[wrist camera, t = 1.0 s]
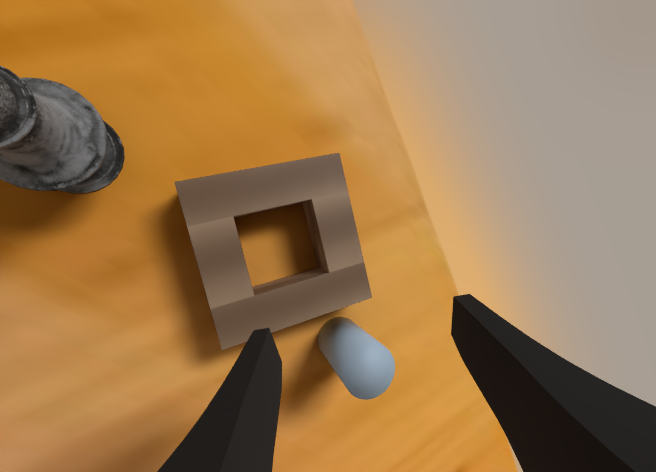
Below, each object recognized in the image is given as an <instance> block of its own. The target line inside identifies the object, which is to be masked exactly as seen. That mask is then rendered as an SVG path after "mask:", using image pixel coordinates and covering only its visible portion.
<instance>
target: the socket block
mask: <svg viewBox="0 0 656 472" xmlns="http://www.w3.org/2000/svg"><path fill="white" fill-rule="evenodd" d="M175 186H176V189H177V193H178V196H179V200H180V203H181V207H182V210H183V214H184V217H185V221H186V225H187V228H188V232H189V235H190V239H191V242H192V246H193V249H194V253H195V256H196V260H197V264H198V267H199V271H200V274H201V278H202V281H203V285H204V288H205V292H206V295H207V299H208V303H209V306H210V310H211V313H212V317H213V320H214V324H215V327H216V331H217V334H218V338H219V341H220V345H221V349H222V350H224V349H227V348H230V347H233V346H235V345H238V344H241V343H244V342H247V341H248V339H249V337H250V335H251V334H252V332H253V331H254V330H258V329H264V328H270V331H271V333H273V332H275V331H278V330H281V329H284V328H287V327H290V326H292V325H295V324H298V323H301V322H304V321H307V320H310V319H312V318H315V317H318V316H321V315H324V314H327V313H330V312H332V311H335V310H338V309H341V308H344V307H347V306H349V305H352V304H355V303H358V302H361V301H364V300H367V299H369V298H372V295H371V291H370V287H369V282H368V278H367V273H366V269H365V264H364V260H363V256H362V251H361V247H360V242H359V238H358V234H357V229H356V225H355V220H354V216H353V211H352V207H351V203H350V198H349V194H348V189H347V185H346V181H345V176H344V172H343V167H342V163H341V158H340V154H339V153H335V154H330V155H324V156H318V157H313V158H307V159H302V160H296V161H290V162H285V163H279V164H273V165H268V166H262V167H256V168H251V169H245V170H239V171H234V172H228V173H223V174H217V175H211V176H206V177H200V178H194V179H189V180H183V181H177V182H175ZM300 203H303V208H304V212H305V216H306V220H307V224H308V228H309V232H310V236H311V241H312V245H313V249H314V253H315V257H316V261H317V265H318V268H315V269H311V270H308V271H305V272H301V273H298V274H295V275H291V276H288V277H284V278H281V279H278V280H274V281H271V282H268V283H264V284H261V285H258V286H254V287H252V285H251V281H250V277H249V274H248V270H247V266H246V262H245V259H244V255H243V251H242V247H241V244H240V240H239V236H238V232H237V228H236V225H235V221H234V218H237V217H242V216H246V215H251V214H255V213H259V212H264V211H268V210H273V209H277V208H282V207H286V206H291V205H295V204H300Z"/></svg>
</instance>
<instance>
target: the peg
mask: <svg viewBox="0 0 656 472" xmlns="http://www.w3.org/2000/svg"><path fill="white" fill-rule="evenodd" d="M318 345H319V348H320V350H321V352H322V353H323V355H324V356H325V358H326V359H327V361H328V362H329V363H330V365H331V366H332V368H333V369H334V371H335V372H336V373H337V375H338V376H339V378H340V379H341V381H342V382H343V383H344V385H345V386H346V388H347V389H348V391H349V392H350V393H351V394H352V395H353V396H355V397H357V398H359V399H372V398H375V397H377V396H379V395H381V394H382V393H383V392H384V391H385V390H386V389H387V388H388V387H389V385H390V383H391V382H392V379H393V376H394V372H395V363H394V359H393V356H392V354H391V352H390V351H389V350H388V349H387V348H386V347H384V346H383V345H382V344H381V343H379V342H378V341H377V340H376V339H374V338H373V337H372V336H370V335H369V334H368V333H367V332H365V331H364V330H363V329H361V328H360V327H359V326H358V325H356V324H355V323H354V322H353V321H351V320H350V319H348V318H345V317H335V318H333V319H331V320H329V321H328V322H326V323H325V324H324V325H323V327H322V328H321V330H320V333H319V336H318Z"/></svg>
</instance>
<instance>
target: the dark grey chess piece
mask: <svg viewBox="0 0 656 472" xmlns="http://www.w3.org/2000/svg"><path fill="white" fill-rule="evenodd" d="M123 163H124V147H123V145H122V142H121V140H120V137H119V136H118V135H117V133H116V132H115V131H114V129H113V128H112V127H111V126H109V125H108V124H107V123H106V122H104V121H103V120H102V117H101V116H100V114H99V113H98V112H97V110H96V109H95V108H94V106H93V105H92V104H91V103H90V102H89V101H88V100H87V99H85V98H84V97H83V96H82V95H81V94H79V93H78V92H76V91H74V90H73V89H71V88H69V87H67V86H65V85H63V84H60V83H57V82H53V81H50V80H46V79H39V78H19V77H18V76H17V75H15V74H14V73H13V72H11V71H10V70H8V69H6V68H4V67H2V66H0V179H1V180H3V181H6V182H8V183H10V184H13V185H15V186H18V187H21V188H26V189H31V190H37V191H57V190H60V191H65V192H70V193H89V192H93V191H97V190H100V189H102V188H104V187H105V186H107V185H109V184H110V183H111V182H112V181H113V180H115V179H116V178H117V176H118V175H119V173H120V171H121V169H122V167H123Z"/></svg>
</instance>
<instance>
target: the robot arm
mask: <svg viewBox="0 0 656 472" xmlns="http://www.w3.org/2000/svg"><path fill="white" fill-rule="evenodd" d="M451 335H452V337H453V339H454V342H455V344H456V346H457V349H458V351H459V353H460V355H461V358H462V360H463V361H464V363H465V365H466V367H467V368H468V370H469V372H470V374H471V375H472V377H473V379H474V380H475V382H476V384H477V386H478V387H479V389H480V391H481V392H482V394H483V396H484V397H485V399H486V401H487V402H488V404H489V406H490V408H491V409H492V411H493V413H494V414H495V416H496V418H497V419H498V421H499V423H500V425H501V427H502V429H503V430H504V432H505V434H506V436H507V438H508V440H509V443H510V445H511V447H512V449H513V451H514V453H515V455H516V457H517V459H518V461H519V463H520V465H521V468H522V470H523V472H656V407H655V406H653V405H651V404H649V403H647V402H645V401H643V400H641V399H639V398H636V397H635V396H633V395H630V394H628V393H627V392H625V391H622V390H620V389H618V388H616V387H614V386H612V385H611V384H609V383H607V382H605V381H603V380H601V379H599V378H597V377H595V376H594V375H592V374H590V373H588V372H586V371H584V370H583V369H581V368H579V367H578V366H575V365H574V364H572V363H570V362H569V361H567V360H565V359H564V358H562V357H560V356H559V355H557V354H555V353H554V352H552V351H551V350H549V349H547V348H546V347H544V346H543V345H541V344H540V343H538V342H536V341H535V340H533V339H532V338H530V337H529V336H527V335H526V334H524V333H523V332H522V331H520V330H519V329H517V328H516V327H514V326H513V325H511V324H510V323H509V322H507V321H506V320H504V319H503V318H502V317H500V316H499V315H498V314H496V313H495V312H493V311H492V310H491V309H489V308H488V307H487V306H485V305H484V304H483V303H481V302H480V301H478V300H477V299H476V298H474V297H473V296H472V295H470V294H467V295H460V296H454V297H453V313H452V330H451ZM281 389H282V361H281V358H280V355H279V353H278V350H277V347H276V345H275V342H274V339H273V336H272V334H271V331H270V328H264V329H258V330H254V331H253V332H252V334H251V335H250V337H249V339H248V341H247V343H246V345H245V346H244V348H243V350H242V352H241V354H240V355H239V357H238V359H237V361H236V362H235V364H234V366H233V367H232V369H231V371H230V372H229V374H228V376H227V377H226V379H225V381H224V382H223V384H222V385H221V387H220V389H219V390H218V392H217V393H216V395H215V396H214V398H213V399H212V401H211V402H210V404H209V405H208V407H207V408H206V410H205V411H204V413H203V414H202V415H201V417H200V418H199V420H198V421H197V422H196V424H195V425H194V426H193V428H192V429H191V430H190V432H189V433H188V434H187V436H186V437H185V438H184V440H183V441H182V442H181V443H180V445H179V446H178V447H177V448H176V450H175V451H174V452H173V453H172V454H171V456H170V457H169V458H168V459H167V461H166V462H165V463H164V464H163V465H162V467H161V468H160V469H159V470H158V471H157V472H272V465H273V454H274V446H275V438H276V430H277V422H278V414H279V406H280V398H281Z"/></svg>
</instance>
